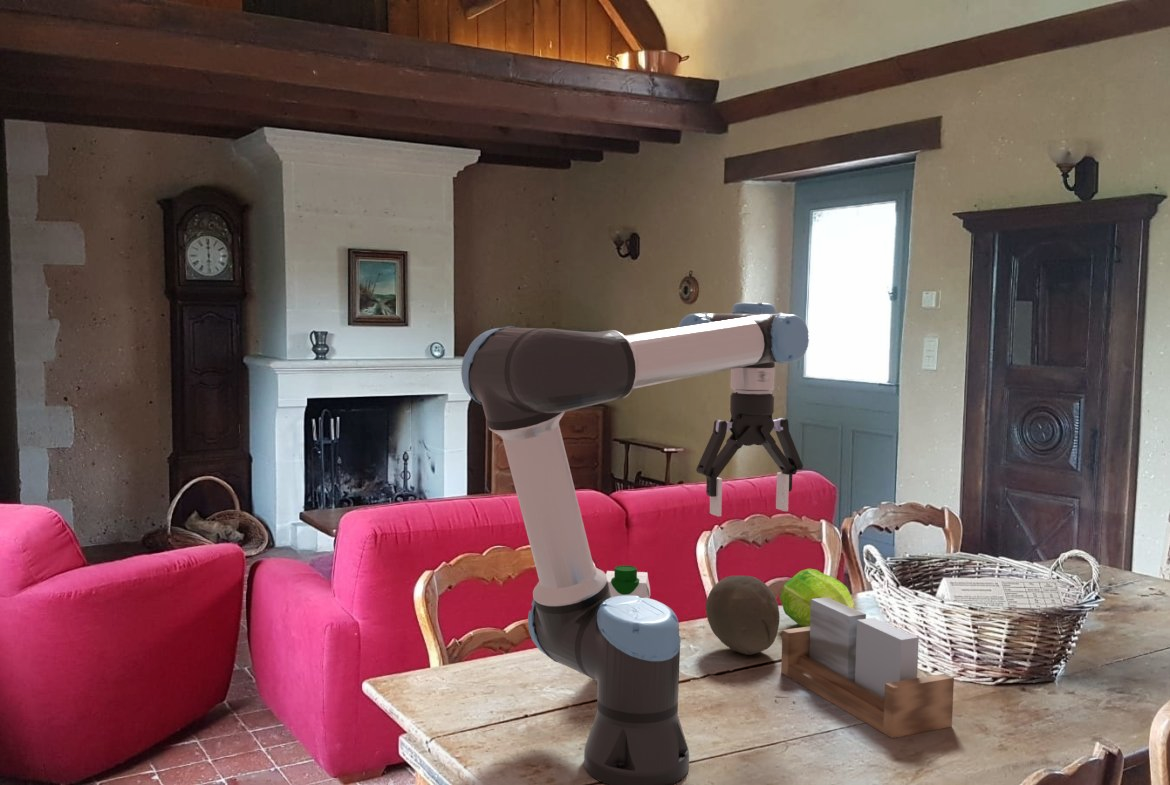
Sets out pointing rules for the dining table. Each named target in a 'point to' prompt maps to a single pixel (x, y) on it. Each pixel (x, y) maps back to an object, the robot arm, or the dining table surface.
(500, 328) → the robot arm
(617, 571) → the milk carton
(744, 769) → the dining table surface
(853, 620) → the wooden slotted stand
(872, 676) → the gray angular faceted block
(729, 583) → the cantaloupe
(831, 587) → the lettuce
